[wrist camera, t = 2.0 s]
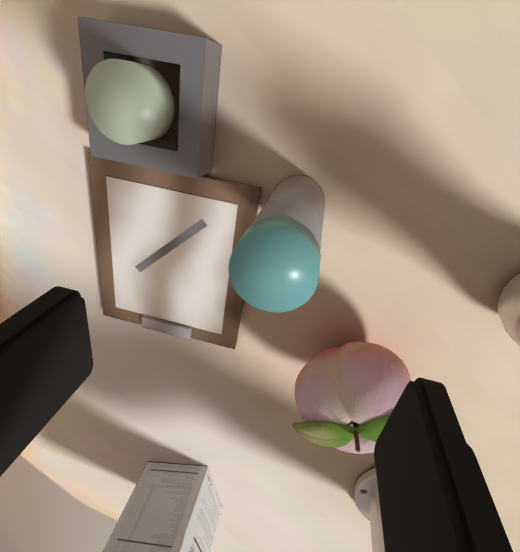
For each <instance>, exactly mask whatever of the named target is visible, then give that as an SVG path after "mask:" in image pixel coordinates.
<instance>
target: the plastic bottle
mask: <svg viewBox="0 0 520 552" xmlns="http://www.w3.org/2000/svg"><path fill="white" fill-rule="evenodd" d="M498 313H499V316H500V318H501V321H502V323H503V326H504V328H505V331H506V332H507V333H508V335H509V336H510V337H511V338H512V339H513V340H514V341H515V342H516V343H517V344H518V345H519V346H520V273H519V274H518V275H516V276H515V277H513V278H512V279H511V280H510V281H509V282H508V283H507V285H506V286H505V288H504V289H503V291H502V293H501V295H500V297H499V301H498Z"/></svg>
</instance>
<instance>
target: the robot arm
mask: <svg viewBox="0 0 520 552" xmlns="http://www.w3.org/2000/svg"><path fill="white" fill-rule="evenodd" d="M92 368H93V358H92V350H91V343H90V336H89V328H88V321H87V314H86V307H85V301H84V299H83V298H82V297H81V295H80V293H79V292H78V291H75V290H71V289H67V288H64V287H60V286H58V287H54V288H52V289H51V290H49V291H48V292H46V293H45V294H43V295H42V296H40V297H39V298H37V299H36V300H35V301H33V302H32V303H30V304H29V305H27V306H26V307H24V308H23V309H21V310H20V311H18V312H17V313H16V314H14V315H13V316H11V317H10V318H8V319H7V320H5V321H4V322H2V323H1V324H0V476H1V475H2V474H3V473H4V472H5V471H6V470H7V468H8V467H9V466H10V465H11V464H12V463H13V462H14V460H15V459H16V458H17V457H18V456H19V455H20V454H21V452H22V451H23V450H24V449H25V448H26V447H27V446H28V444H29V443H30V442H31V441H32V440H33V439H34V438H35V436H36V435H37V434H38V433H39V432H40V431H41V430H42V428H43V427H44V426H45V425H46V424H47V423H48V422H49V420H50V419H51V418H52V417H53V416H54V415H55V414H56V412H57V411H58V410H59V409H60V408H61V407H62V406H63V404H64V403H65V402H66V401H67V400H68V399H69V398H70V397H71V395H72V394H73V393H74V392H75V391H76V390H77V389H78V387H79V386H80V385H81V384H82V383H83V382H84V381H85V379H86V378H87V377H88V376H89V375H90V373H91V371H92ZM374 457H375V466H376V467H375V468H372V469H370V470H369V471H367V472H365V473H364V474H363V475H362V476H361V477H359V479H358V480H357V482H356V484H355V488H354V499H355V503H356V506H357V508H358V509H359V511H360V512H361V513H362V514H363V515H364V516H365V517H366V518H367V519H368V520H370V526H371V538H372V550H373V552H513V551H512V548H511V546H510V543H509V540H508V538H507V535H506V533H505V530H504V528H503V525H502V523H501V520H500V517H499V515H498V512H497V510H496V507H495V505H494V502H493V500H492V497H491V494H490V492H489V489H488V487H487V484H486V482H485V479H484V477H483V474H482V471H481V469H480V466H479V464H478V461H477V459H476V456H475V454H474V452H473V450H472V448H471V447H470V446H469V445H468V444H467V443H466V441H465V438H464V436H463V433H462V430H461V428H460V425H459V422H458V420H457V417H456V414H455V412H454V409H453V407H452V404H451V401H450V399H449V396H448V393H447V391H446V388H445V386H444V385H443V384H442V383H439V382H435V381H431V380H427V379H424V378H417V379H416V380H415V382H413V381H409V382H408V384H407V385H406V387H405V389H404V391H403V393H402V394H401V396H400V398H399V400H398V402H397V404H396V405H395V407H394V409H393V411H392V413H391V415H390V417H389V418H388V420H387V422H386V424H385V426H384V428H383V429H382V431H381V433H380V435H379V437H378V439H377V441H376V443H375V448H374Z"/></svg>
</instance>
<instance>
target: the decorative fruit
mask: <svg viewBox="0 0 520 552" xmlns="http://www.w3.org/2000/svg"><path fill="white" fill-rule="evenodd" d="M409 381H411V378H410V375H409V372H408V369H407V367H406V366H405V364H404V363H403V361H402V360H401V359H400V358H399V357H398V356H397V355H396V354H395V353H393V352H392V351H390V350H389V349H387V348H385V347H383V346H380V345H377V344H373V343H368V342H361V341H355V342H348V343H345V344H344V345H342V346H341V347H333V348H329V349H326V350H324V351H322V352H321V353H319V354H318V355H316V356H315V357H314V358H313V359H311V360H310V361H309V362H308V363H307V364H306V365H305V366H304V367H303V369H302V370H301V371H300V373H299V375H298V377H297V379H296V383H295V398H296V403H297V407H298V410H299V413H300V415H301V418H302V420H303V421H304V422H300V423H294V424H293V427H294V428H295V429H296V430H297V432H298V433H299V434H301V435H302V436H303V437H304V438H306V439H307V440H309V441H311V442H313V443H315V444H317V445H320V446H324V447H333V448H336V449H338V450H341V451H345V452H349V453H355V454H366V453H373V452H374V448H375V443H376V441H377V439H378V437H379V435H380V433H381V431H382V429H383V428H384V426H385V424H386V422H387V420H388V418H389V417H390V415H391V413H392V411H393V409H394V407H395V405H396V404H397V402H398V400H399V398H400V396H401V394H402V393H403V391H404V389H405V387H406V385H407V384H408V382H409Z"/></svg>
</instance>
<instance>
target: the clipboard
mask: <svg viewBox="0 0 520 552" xmlns="http://www.w3.org/2000/svg"><path fill="white" fill-rule="evenodd" d="M88 162H89V172H90V182H91V193H92V203H93V213H94V223H95V233H96V243H97V253H98V264H99V274H100V284H101V294H102V304H103V314H104V315H106V316H110V317H113V318H117V319H121V320H125V321H129V322H133V323H136V324H140V325H142V327H144V328H148V329H151V330H155V331H159V332H163V333H167V334H170V335H174V336H178V337H182V338H186V339H189V340H190V338H194V339H197V340H201V341H205V342H209V343H213V344H216V345H220V346H224V347H228V348H232V349H235V347H236V343H237V337H238V331H239V324H240V318H241V312H242V305H243V299H242V298H241V297H240V296H239V295H238V294H237V292H236V291H235V289H234V287H233V286H232V283H231V281H230V277H229V271H228V267H229V260H230V256H231V254H232V252H233V250H234V248H235V247H236V245H237V244H238V242H239V241H240V239H241V238H242V237H243V235H244V234H245V232H246V231H247V230H248V228H249V227H250V226H251V225H252V223H253V222H254V220H255V219H256V217H257V211H258V204H259V198H260V192H261V187H256V186H252V185H247V184H242V183H237V182H233V181H228V180H223V179H218V178H214V177H209V176H204V175H203V176H201V177H199V178H198V179H197V178H192V177H188V176H183V175H178V174H174V173H169V172H164V171H160V170H155V169H150V168H145V167H141V166H136V165H131V164H127V163H122V162H117V161H113V160H108V159H103V158H98V157H94V156H91V152H90V153H88Z"/></svg>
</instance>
